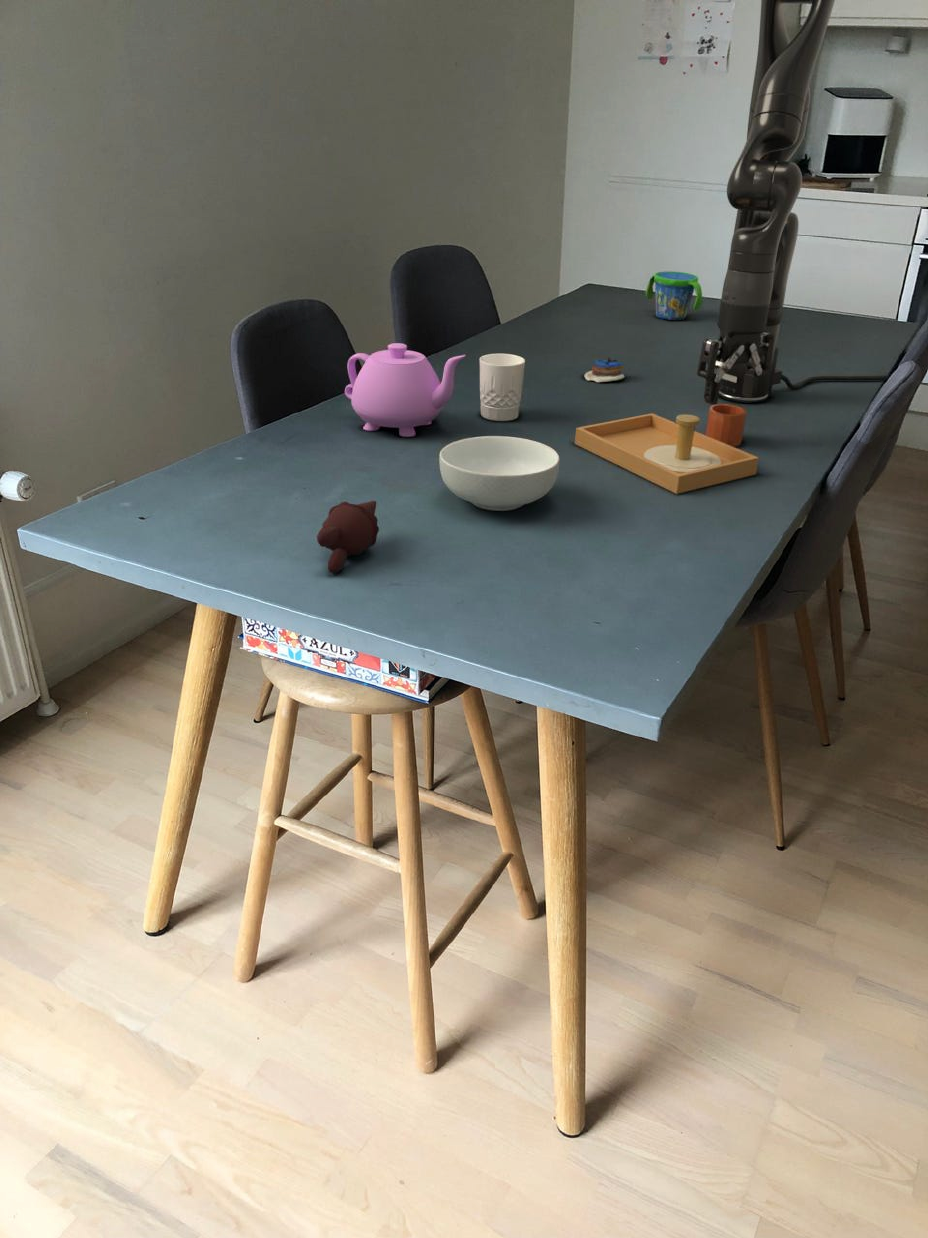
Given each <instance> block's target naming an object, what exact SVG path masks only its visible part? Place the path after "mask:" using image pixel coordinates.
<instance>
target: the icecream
mask: <svg viewBox="0 0 928 1238" xmlns="http://www.w3.org/2000/svg"><path fill="white" fill-rule="evenodd" d="M376 509H377V501H376V500H370V501H366V502H361V503H358V504H356V503H350V502H348V501H341V502H339V504H337V505H334V506H331V508H330V509H329V510H328V515H327V517H326V519H325V520H324V521H323V522H322V525H321V528H320V530H319V531H318V533H317V535H316V540H317V543H318V545H319V546H320V547H322V548H324V547H325V549H328V550H331V551H332V553H331V554H330V557H329V559H328V562H327V570H328V572H329V573H331V574H337V573H338V572H339V571H340V570H342V568H343V567H345V564H346V562H347V559H348V558H347V556H357V555H360V554H362V553H363V552H365V551H366V550H368V548H371V547H373V546H375V544H376V543H377V537H378V533H379V531H380V528H379V526H378V517H377V516H376V515H375V513H376Z"/></svg>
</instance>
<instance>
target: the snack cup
mask: <svg viewBox="0 0 928 1238" xmlns="http://www.w3.org/2000/svg"><path fill="white" fill-rule="evenodd" d="M698 281H699V277H698V276H697V275H696V274H693V273H689V272H685V271H683V272H682V271H672V270H669V271H667V270H666V271H659V272H658V271H657V272H655V273H654V274H653V275H652V276H651V277H650V278H649V280H648V283H647V286H646V289H645V297H646V298H647V299H652V298H653V297H654V296H655V297H654V298H655V300H654V304H655V306H654V307H655V316H656V318H659V319H662V320H668V321H683V320H684V319H686V317H687V315H688V313H689V309H690V306H691V302H692V298H693V295H694V293H695V294H696V298H695V301H694V306H693V310H695V311H697V310H699V309H700V308H701V306H702V304H703V290H702V287H701V284H700V283H699V282H698ZM654 287H655V288H654ZM654 291H655V292H654Z"/></svg>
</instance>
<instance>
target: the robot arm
mask: <svg viewBox="0 0 928 1238" xmlns="http://www.w3.org/2000/svg"><path fill="white" fill-rule="evenodd" d="M760 1H761V3H760V16H759V17H760V19H759V32H758V33H759V34H758V45H757V54H756V55H757V56H756V62H755V63H756V65H755V71H754V77H753V84H752V90H751V91H752V92H751V97H750V104H749V113H748V121H747V131H746V142H745V143H744V146H743V149H742V150H741V153H740V155H739V158H738V159H737V161H736V162H735V164H734V167H733V169H732V171H731V173H730V176H729V178H728V181H727V185H726V197H727V200H728V203H729V204H730V206H731V207H732V208H734V209H735V210H737V211H736V217H735V223H734V229H733V234H732V237H731V243H730V251H729V257H728V263H727V270H726V274H725V276H724V282H723V285H722V290H721V291H722V292H721V298H720V306H719V310H718V311H719V312H718V317H717V318H718V319H717V326H718V329H719V331H720V333H719V336H718V337H717V339H709V338H704V339H703V341H702V346H701V350H700V356H699V360H698V361H699V362H698V367H697V372H696V375H697V376H698V377H700V378H703V379H705V387H704V394H703V400H704V402H705V403H706V404H708V405H711V406H712V405H717V404H718V401H719V397H720V398H722V399H724V400H727V401H732V402H736V403H746V404H753V403H761V402H764V401H766V400H767V399H768V398H770V397H771V394H772V391H773V390H772V389H773V386H774V385H775V386H776V385H780V384H781V381H783V382H784V383H785V385H786V386H787V387H788V388H789V389H791V390H798V389H801V388H802V387H804V386H805V385H807V384H808V383H811V382H818V381H884V380H885V381H886V380H889V379H888V377H889V375H890V374H884V375H883V374H882V375H817V376H810V377H808V378H805V379H803V380H802V381H800V382H799V383H798V384H793V383H792V382H791V380H790V379H789V378H788V377H787V376H786V375H784V374H783V371H782V370H780V369H777V362H778V356H779V351H780V348H779V346H778V345H777V344H778V337H779V331H780V326H781V321H782V315H783V309H784V305H785V304H784V303H785V298H786V291H787V284H788V281H789V274H790V271H791V265H792V261H793V256H794V253H795V249H796V244H797V240H798V235H799V227H800V226H799V225H800V222H799V217H798V215H797V214H796V213H795V212H792V210H793V207H794V205H795V204H796V201H797V199H798V197H799V195H800V192H801V189H802V186H803V175H802V174H803V173H802V172H801V169H800V167H799V165H797V163H795V162H793V161H789V160H790V159H791V158H792V156H793V155H794V154H795V152H796V151H797V150H798V148H799V147H800V145H801V144H802V142H803V140H804V138H805V135H806V130H807V122H808V117H809V111H810V103H811V89H810V83H811V79H812V75H813V72H814V69H815V65H816V62H817V59H818V56H819V53H820V50H821V47H822V44H823V42H824V38H825V35H826V31H827V29H828V24H829V21H830V19H831V15H832V13H833V12H832V11H833V9H834V5H835V1H836V0H760ZM784 4H785V5H786V4H787V5H789V4H790V5H810V9H809V11H808V13H807V15H806V16H807V17H806V18H805V20H804V22H803V23H802V25H801V27H800V28H799V30H798V32H797V33H796V34H795V36H794V37H793V38H792V40H791V41H790V38H789V36H788V35H789V34H788V33H787V32H788V31H787V27H786V26H787V25H786V23H785V22H786V20H785V14H784V13H785V12H784Z"/></svg>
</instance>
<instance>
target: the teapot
mask: <svg viewBox="0 0 928 1238" xmlns="http://www.w3.org/2000/svg"><path fill="white" fill-rule="evenodd" d="M407 348H408V346H407V344H405V343H402V342H401V343H400V342H392V343H389V344H388V345H387V349H383V350H379V351H376V352H373V353H371V354H370V355H369V354H367V353H364V352H358V353H355V354H353V355H352V356H350V357H349V359H348V361H347V365H346V366H347V367H346V368H347V375H348V378H349V381H350V383H349V384H347V385H346V386H345V389H344V394H345V395H344V396H345V397H346V398H347V399H349V400H350V401H351V402H350V404H351V407H352V409H353V410H354V412H355V413H356V414H357V416H358V417H359V418H360V419H361V420H362V421H363V422H366V423H365V424H364V425H363V430H364V431H371V432H374V431H377V430H380V429H381V427H384V428H393V429H396V428H397V429H398V435H399V436H401V437H407V438H408V437H409V438H410V437H415V436H416V431H415V428H414V427H420V426H428V425H431V424H432V423H433V422H432V421H434V419H435V418H437V416H439V414H440V413H441V412H442V410H443V408H444V405H445V404H447V403H448V401H449V400H450V399H451V397H452V395H453V391H454V385H455V370H456V368H457V367H456V366H457V365H458V363H459V362H460V361H461V360H462V359H463V358H465V357H466V354H462V355H456V356H453V357H450V358H448V359H447V361H446V362H445V364H444V367H443V374H442V380H441V382H440V378H439V377H438V375H437V372H436V371H435V370H434V368H433V366H432V365H431V363H430V361H429V360H428V359H427V357H426V356H425V355H424V354H422V353H421V352H418V351H414V350H408V349H407ZM357 360H361V361H364V364H363V365H362V367H361V369H360V371H359V372H358V373H357V370H356V361H357Z"/></svg>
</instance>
